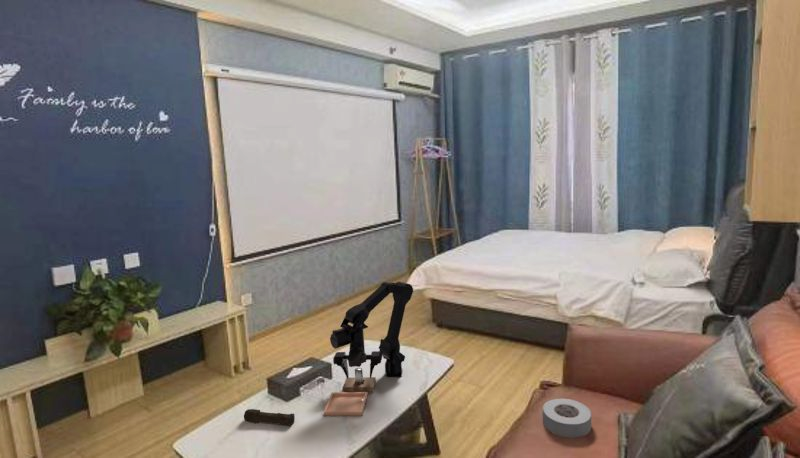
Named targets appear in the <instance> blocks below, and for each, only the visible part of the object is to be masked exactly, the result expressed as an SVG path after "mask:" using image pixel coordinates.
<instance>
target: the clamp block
mask: <svg viewBox="0 0 800 458" xmlns="http://www.w3.org/2000/svg"><path fill="white" fill-rule="evenodd" d="M376 382H377V381H376V376H374V377H372V376H371V378H370V376H368V377H367V376H365V377H364V376H363V385H356V381H355V377H349V378H347V377H345V379H344V383H343V385H342V392H367V393H368V394H374V391H375V388H376V384H377V383H376Z"/></svg>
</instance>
